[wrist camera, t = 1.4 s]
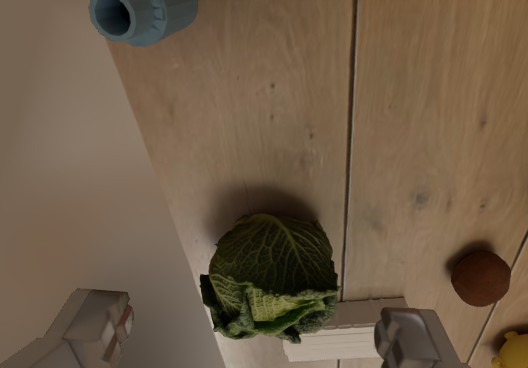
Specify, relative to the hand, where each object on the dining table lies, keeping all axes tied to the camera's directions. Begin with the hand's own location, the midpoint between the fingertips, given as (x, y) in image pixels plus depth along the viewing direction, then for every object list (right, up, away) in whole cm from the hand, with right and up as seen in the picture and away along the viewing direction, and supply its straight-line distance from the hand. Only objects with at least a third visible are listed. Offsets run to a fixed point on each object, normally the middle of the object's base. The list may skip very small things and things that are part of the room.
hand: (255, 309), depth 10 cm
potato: (+37, -10, +46) cm, 60 cm away
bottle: (-10, +25, +25) cm, 36 cm away
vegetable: (+2, -5, +44) cm, 44 cm away
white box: (+17, -25, +57) cm, 65 cm away
